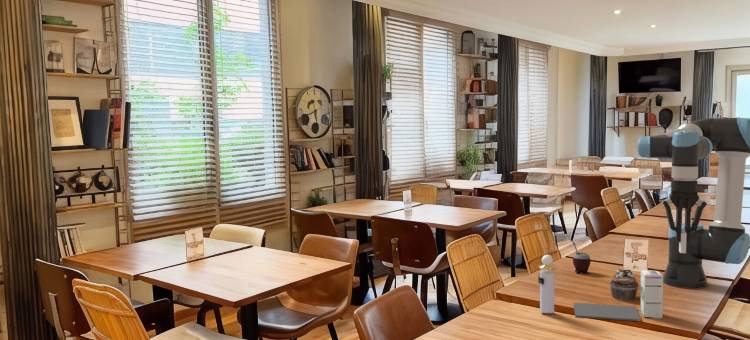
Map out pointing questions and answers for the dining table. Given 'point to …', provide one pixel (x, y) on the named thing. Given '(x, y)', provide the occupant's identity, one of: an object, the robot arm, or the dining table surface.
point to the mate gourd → (581, 261)
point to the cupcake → (624, 285)
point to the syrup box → (651, 293)
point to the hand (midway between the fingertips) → (682, 252)
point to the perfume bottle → (546, 285)
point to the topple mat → (606, 311)
